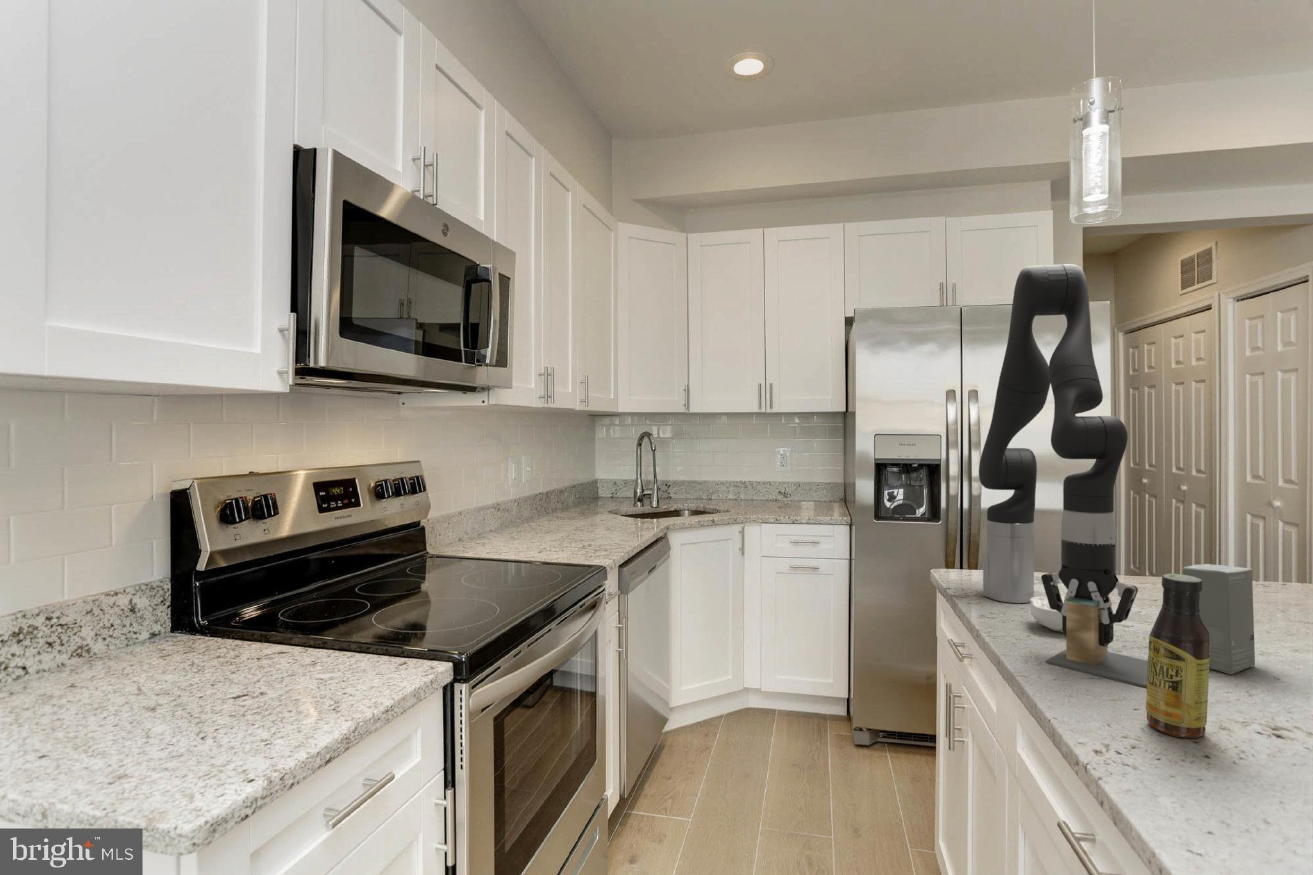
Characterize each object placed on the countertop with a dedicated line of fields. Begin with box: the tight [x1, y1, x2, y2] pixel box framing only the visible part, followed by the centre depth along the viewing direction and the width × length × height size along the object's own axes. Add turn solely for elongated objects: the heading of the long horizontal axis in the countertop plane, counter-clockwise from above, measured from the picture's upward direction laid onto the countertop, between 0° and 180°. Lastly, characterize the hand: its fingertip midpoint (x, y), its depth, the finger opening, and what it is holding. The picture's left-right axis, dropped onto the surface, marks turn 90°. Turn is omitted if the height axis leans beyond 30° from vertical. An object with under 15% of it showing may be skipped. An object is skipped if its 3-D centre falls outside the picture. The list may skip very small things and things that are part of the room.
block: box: [1065, 597, 1108, 666], centre depth 113 cm, size 4×6×10 cm, turn 129°
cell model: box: [1029, 595, 1065, 632], centre depth 130 cm, size 10×12×7 cm
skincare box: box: [1182, 563, 1256, 675], centre depth 111 cm, size 8×7×16 cm
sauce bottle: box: [1145, 573, 1210, 739], centre depth 88 cm, size 7×6×20 cm
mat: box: [1045, 649, 1148, 689], centre depth 110 cm, size 16×12×1 cm
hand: (1087, 640), depth 113 cm, fingers open, 4 cm apart
